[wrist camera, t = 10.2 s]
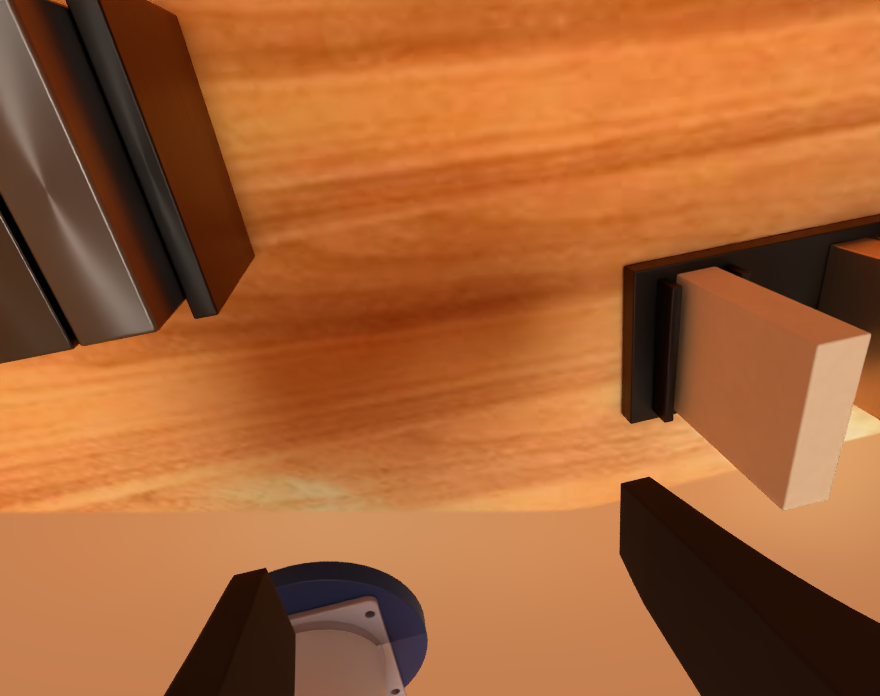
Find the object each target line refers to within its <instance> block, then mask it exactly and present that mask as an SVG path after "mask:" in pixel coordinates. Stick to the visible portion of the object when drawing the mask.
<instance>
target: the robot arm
mask: <svg viewBox="0 0 880 696" xmlns="http://www.w3.org/2000/svg"><path fill="white" fill-rule="evenodd" d="M620 505H621V507H620V555H621V558H622V560H623V562H624V564H625V566H626V568H627V571H628V572H629V575H630V577H631V579H632V581H633V583H634V585H635V587H636V589H637V591H638V593H639V595H640V597H641V599H642V601H643V603H644V605H645V606H646V608H647V610H648V611H649V613H650V615H651V616H652V618H653V619H654V621H655V622H656V624H657V626H658V628H659V629H660V631H661V632H662V634H663V636H664V637H665V639H666V641H667V642H668V644H669V645H670V647H671V649H672V650H673V652H674V653H675V655H676V657H677V658H678V660H679V661H680V663H681V664H682V666H683V668H684V669H685V671H686V672H687V674H688V676H689V677H690V679H691V680H692V682H693V684H694V685H695V687H696V688H697V690H698V692H699V693H700V695H701V696H880V623H878V622H876V621H874V620H873V619H871V618H869V617H867V616H865V615H863V614H861V613H860V612H858V611H855V610H854V609H852V608H850V607H848V606H847V605H845V604H843V603H841V602H840V601H838V600H836V599H834V598H833V597H831V596H829V595H827V594H826V593H824V592H822V591H821V590H819V589H817V588H816V587H814V586H812V585H810V584H809V583H807V582H806V581H804V580H802V579H801V578H799V577H797V576H796V575H794V574H792V573H791V572H789V571H787V570H786V569H784V568H782V567H781V566H779V565H778V564H776V563H775V562H773V561H772V560H770V559H768V558H767V557H765V556H764V555H762V554H761V553H759V552H758V551H756V550H755V549H753V548H752V547H750V546H748V545H747V544H746V543H744V542H743V541H741V540H739V539H738V538H737V537H735V536H733V535H732V534H731V533H729V532H728V531H726V530H725V529H723V528H722V527H720V526H719V525H717V524H716V523H714V522H713V521H712V520H710V519H709V518H707V517H706V516H704V515H703V514H702V513H700V512H699V511H697V510H696V509H694V508H693V507H692V506H690V505H689V504H687V503H686V502H685V501H683V500H682V499H680V498H679V497H677V496H676V495H675V494H673V493H672V492H670V491H669V490H668V489H666V488H665V487H663V486H662V485H660V484H659V483H658V482H656V481H655V480H653V479H652V478H650V477H646V478H642V479H638V480H634V481H629V482H625V483H621V504H620ZM164 696H406V691H405V688H404V685H403V681H402V678H401V675H400V672H399V669H398V665H397V662H396V659H395V656H394V653H393V649H392V646H391V643H390V640H389V636H388V633H387V630H386V627H385V624H384V620H383V617H382V614H381V611H380V608H379V604H378V601H377V599H376V598H375V597H373V596H363V597H359V598H355V599H351V600H347V601H343V602H339V603H335V604H331V605H327V606H323V607H319V608H315V609H311V610H307V611H303V612H299V613H295V614H291V615H287V614H286V612H285V609H284V607H283V605H282V603H281V600H280V598H279V596H278V594H277V591H276V589H275V587H274V585H273V582H272V580H271V578H270V576H269V573H268V571H267V569H266V568H263V569H259V570H255V571H250V572H246V573H242V574H238V575H234V576H233V578H232V580H230V582H229V584H228V586H227V588H226V589H225V591H224V593H223V595H222V596H221V598H220V600H219V602H218V603H217V605H216V607H215V609H214V611H213V612H212V614H211V616H210V618H209V619H208V621H207V623H206V625H205V627H204V628H203V630H202V632H201V634H200V635H199V637H198V639H197V641H196V642H195V644H194V646H193V648H192V650H191V651H190V653H189V654H188V656H187V658H186V659H185V661H184V663H183V664H182V666H181V668H180V669H179V671H178V673H177V674H176V676H175V678H174V680H173V681H172V683H171V684H170V686H169V688H168V689H167V691H166V693H165V695H164Z"/></svg>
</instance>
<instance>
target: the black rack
mask: <svg viewBox="0 0 880 696" xmlns="http://www.w3.org/2000/svg"><path fill="white" fill-rule="evenodd" d="M710 267H718V268H720V269H722V270H725V271H727V272H729V273H732V274H734V275H736V276H739V277H741V278H743V279H746V280H748V281H750V282H752V283H755V284H757V285H759V286H762V287H764V288H766V289H769V290H771V291H773V292H776V293H778V294H780V295H783V296H785V297H787V298H790V299H792V300H794V301H797V302H799V303H801V304H804V305H806V306H808V307H811V308H813V309H815V310H817V311H820V312H822V313H824V314H827V315H829V316H831V317H834V318H836V319H838V320H841V321H843V322H845V323H848V324H850V325H852V326H855V327H857V328H859V329H862V330H864V331H866V332H869V333H870V334H871V338H870V342H869V346H868V349H867V353H866V357H865V361H864V365H863V369H862V372H861V376H860V380H859V384H858V388H857V392H856V395H855V399H854V403H853V404H854V405H855V406H857V407H859V408H861V409H862V410H864V411H866V412H867V413H869V414H871V415H873V416H874V417H876V418H878V419H879V420H880V215H876V216H871V217H866V218H861V219H856V220H851V221H846V222H841V223H836V224H831V225H827V226H822V227H817V228H812V229H807V230H802V231H797V232H792V233H787V234H782V235H777V236H773V237H768V238H763V239H758V240H753V241H748V242H743V243H738V244H733V245H728V246H723V247H718V248H714V249H709V250H704V251H699V252H694V253H689V254H684V255H679V256H674V257H669V258H664V259H660V260H655V261H650V262H645V263H640V264H635V265H630V266H626V267H625V278H624V344H623V410H622V414H623V416H624V417H625V418H626V419H627V420H628V421H629V422H630V423H631V424H632V423H637V422H641V421H645V420H650V419H654V418H658V417H659V418H661V419H662V420H663V421H664V422H670V421H673V415H674V414H676V413H677V412H676V411H675V410H674V401H675V387H676V372H677V358H678V344H679V330H680V315H681V301H682V286H681V285H679V284H677V283H676V281H677V274H681V273H686V272H691V271H695V270H700V269H705V268H710Z"/></svg>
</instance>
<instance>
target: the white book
mask: <svg viewBox="0 0 880 696" xmlns="http://www.w3.org/2000/svg"><path fill="white" fill-rule="evenodd" d="M676 283H677V284H679V285H681V286H682V301H681V315H680V330H679V344H678V358H677V372H676V387H675V401H674V410H675V411H676V412H677V413H678V414H679V415H680V416H681V417H682V418H683V419H684V420H685V421H687V422H688V423H689V424H690V425H691V426H692V427H693V428H694V429H695V430H696V431H697V432H698V433H700V434H701V435H702V436H703V437H704V438H705V439H706V440H707V441H708V442H709V443H710V444H711V445H713V446H714V447H715V448H716V449H717V450H718V451H719V452H720V453H721V454H722V455H723V456H724V457H725V458H727V459H728V460H729V461H730V462H731V463H732V464H733V465H734V466H735V467H736V468H737V469H738V470H740V471H741V472H742V473H743V474H744V475H745V476H746V477H747V478H748V479H749V480H750V481H751V482H753V483H754V484H755V485H756V486H757V487H758V488H759V489H760V490H761V491H762V492H763V493H764V494H765V495H767V496H768V497H769V498H770V499H771V500H772V501H773V502H774V503H775V504H776V505H777V506H779V508H781V509H782V510H783V511H786V510H790V509H794V508H798V507H802V506H806V505H810V504H814V503H818V502H822V501H826V500H828V498H829V494H830V491H831V487H832V484H833V479H834V476H835V472H836V468H837V464H838V460H839V457H840V453H841V449H842V445H843V441H844V438H845V434H846V430H847V426H848V422H849V418H850V415H851V411H852V407H853V403H854V399H855V395H856V392H857V388H858V384H859V380H860V376H861V372H862V369H863V365H864V361H865V357H866V353H867V349H868V346H869V342H870V338H871V334H870V333H869V332H866V331H864V330H862V329H859V328H857V327H855V326H852V325H850V324H848V323H845V322H843V321H841V320H838V319H836V318H834V317H831V316H829V315H827V314H824V313H822V312H820V311H817V310H815V309H813V308H811V307H808V306H806V305H804V304H801V303H799V302H797V301H794V300H792V299H790V298H787V297H785V296H783V295H780V294H778V293H776V292H773V291H771V290H769V289H766V288H764V287H762V286H759V285H757V284H755V283H752V282H750V281H748V280H746V279H743V278H741V277H739V276H736V275H734V274H732V273H729V272H727V271H725V270H722V269H720V268H718V267H710V268H705V269H700V270H695V271H691V272H686V273H681V274H677V281H676Z"/></svg>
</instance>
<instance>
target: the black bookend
mask: <svg viewBox="0 0 880 696" xmlns="http://www.w3.org/2000/svg"><path fill="white" fill-rule="evenodd" d="M66 3H67V5H68V7H67V6H65V5H62V4H59V3H56V2H54V1H51V0H0V364H1V363H6V362H11V361H16V360H21V359H26V358H31V357H36V356H41V355H46V354H51V353H56V352H61V351H66V350H71V349H74V348H75V347H76V346H77V345H78V344H80V345H81V346H88V345H93V344H98V343H103V342H108V341H113V340H118V339H123V338H128V337H133V336H138V335H143V334H148V333H153V332H157V331H158V330H160V328H161V327H162V326H163V325H164V324H165V323H166V321H167V320H168V319H169V318H170V317H171V316H172V314H173V313H174V312H175V311H176V310H177V309H178V307H179V306H180V305H181V304H182V303H183V301H184V300H185V299H187V302H188V304H189V307H190V309H191V312H192V314H193V317H194V318H195V319H198V318H203V317H209V316H214V315H217V314H219V312H220V310H221V309H222V307H223V306H224V304H225V303H226V301H227V299H228V298H229V296H230V295H231V293H232V291H233V290H234V288H235V287H236V285H237V284H238V282H239V280H240V279H241V277H242V276H243V274H244V273H245V271H246V269H247V268H248V266H249V265H250V263H251V262H252V260H253V258H254V253H253V250H252V247H251V244H250V241H249V238H248V235H247V232H246V229H245V226H244V223H243V220H242V217H241V213H240V210H239V207H238V204H237V201H236V198H235V195H234V192H233V189H232V186H231V183H230V180H229V177H228V174H227V171H226V167H225V164H224V161H223V158H222V155H221V152H220V149H219V146H218V143H217V140H216V137H215V134H214V131H213V128H212V124H211V121H210V118H209V115H208V112H207V109H206V106H205V103H204V100H203V97H202V94H201V91H200V88H199V85H198V82H197V78H196V75H195V72H194V69H193V66H192V63H191V60H190V57H189V54H188V51H187V48H186V45H185V42H184V39H183V36H182V32H181V29H180V26H179V23H178V20H177V17H176V16H175V15H174V14H172V13H170V12H168V11H166V10H164V9H163V8H161V7H159V6H157V5H155V4H153V3H151V2H149V1H148V0H66Z"/></svg>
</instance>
